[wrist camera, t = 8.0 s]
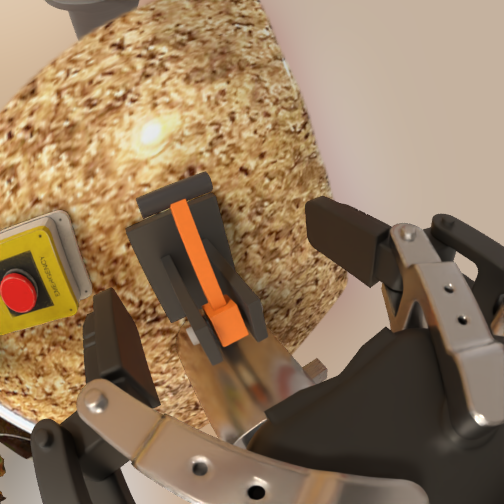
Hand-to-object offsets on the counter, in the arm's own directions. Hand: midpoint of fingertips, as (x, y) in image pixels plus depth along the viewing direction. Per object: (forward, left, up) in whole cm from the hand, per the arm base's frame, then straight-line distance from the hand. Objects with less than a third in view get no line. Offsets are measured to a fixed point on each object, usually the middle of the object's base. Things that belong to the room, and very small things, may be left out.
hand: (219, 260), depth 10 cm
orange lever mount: (+10, +1, -16) cm, 19 cm away
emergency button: (+3, -16, -16) cm, 23 cm away
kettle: (+24, +1, -16) cm, 29 cm away
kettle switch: (+6, +1, -9) cm, 10 cm away
